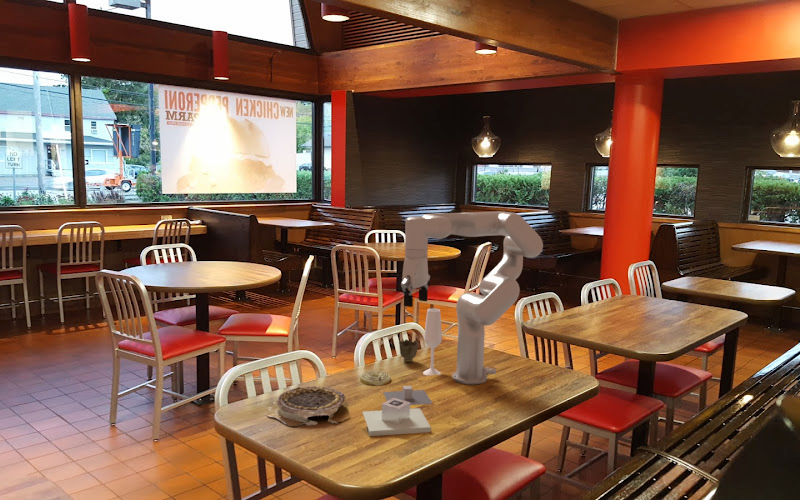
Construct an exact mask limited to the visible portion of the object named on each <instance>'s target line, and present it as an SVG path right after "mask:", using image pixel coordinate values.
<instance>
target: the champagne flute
mask: <svg viewBox="0 0 800 500" xmlns="http://www.w3.org/2000/svg"><path fill="white" fill-rule="evenodd" d="M441 317H442V316H441V309H439V308H428V309H427V310H426V318H425V327H424V334H423V341H424V343H425V344H426V345H427V346H428V347H429V348H430V368H428V369H426V370H424V371H423V372H422V374H423V375H425V376H436V375H437V376H440V375H441V372H440V371H439V370H437V369H436V368H434V367H435V366H434V365H435V348H437V347H438V346H440V345H441V343H442V340H443V332H442V318H441Z"/></svg>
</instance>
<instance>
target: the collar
mask: <svg viewBox="0 0 800 500" xmlns="http://www.w3.org/2000/svg"><path fill="white" fill-rule="evenodd" d="M393 402H399V403H400V405H399V406H395V405H392V403H393ZM410 409H411V405H410V402H407V401H403V400H400V399H396V398H392V399H390V400H389V401H387V400H386V401H385V402H383V403H382V404H381V410H382V420H383V421H386V422H390V423H393V424H396V425H400V424H401V423H403V422H405V421H406V420H408V419H410Z"/></svg>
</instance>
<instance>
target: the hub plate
mask: <svg viewBox="0 0 800 500" xmlns="http://www.w3.org/2000/svg"><path fill="white" fill-rule="evenodd" d="M392 405H395V406H399V405H400V403H399V402H393V403H392ZM362 415H363V417H364V420H365V424H366V427H365V428H366V431H367V434H368V436H369V437H379V436H391V435H392V436H394V435H405V434H407V435H408V434H420V433H421V434H422V433H424V434H425V433H431V430H432V427H431V425H430V423H429V422H428V420H427V418H426V416H425V415H424V413H423V411H422V409H421V407H418V408H416V407H415V408H410V419H408V420H406V421H405V422H403V423H401V424H400V425H396V424H393V423H390V422H386V421H383V420H382V409H381V410H370V411H369V410H367V411H362Z"/></svg>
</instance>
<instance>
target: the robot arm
mask: <svg viewBox="0 0 800 500" xmlns="http://www.w3.org/2000/svg"><path fill="white" fill-rule="evenodd" d="M404 225H405V227H404V229H405V231H404V232H405V234H404V235H405V236H404V237H405V239H404V240H405V241H404V244H405V246H404V248H405V249H404V261H403V267H402V278H401V279H402V280H401V283H400V287H401V292H402V295H403V306H404V307H407V308H408V307H409V308H412V307H413V305H414V302H413V301H414V294H413V292H414V290H415V289H418V301H420V302H427V301H428V290H429V285H430V278H431V275H430V274H429V267H428V251H429V250H428V242H429V240H428V239H430V238H431V239H438V240H439V239H441V240H442V239H445V238H447V237H448V236H450V235H455V236H461V237H469V238H470V237H473V238H474V237H486V236H487V237H488V236H490V237H491V236H503V237H504V239H503V243H502V244H503V254H502V258H501V260H500V261H499V262H498V263H497V265H496V266H495V267H494V268H493V269H492V270H491V271H489V273H488V274H487V275H485V277H483V278H482V280H481V281H480V283H479V286H478V289H479V292H480V293H481V294H482V295H481V294H480V293H479V294H478V293H476V292H464V293H462V294H461V295H460V296H459V298H458V299H457V302H456V316H457V326H458V327H457V353H456V355H457V356H456V371H454V372H453V373H452V376H451V377H452V379H453V380H454V381H455V382H457V383H459V384H463V385H481V384H484V383H486V382H487V381H488V375H496V374H497V369H496V368H491V367H490V366H487V367H485V366H484V360H485V359H484V357H485V356H484V355H485V353H484V352H485V335H486V331H485V326H486V327H487V326H491V325H493V324H495V323H496V322H497V321H498V320H499V319H500V318H501V317H502V316H503V315H504V314H505V313H507V311H508V310H509V309H511V307H512V306H513V305H514V304H515V303H516V301H517V300H518V298H519V296H520V293H521V292H520V291H521V289H520V284H519V283H518V281H517V279H518V278H519V277H520V275H521V274H522V272H523V271H522V270H523V266H524V264H523V263H524V257H525V258H532V259H533V258H536V257H539V256H540V254H541V253H542V252H543V247H544V243H543V242H544V241H543V239H542V238H541V236H540V235H539V234H538V233H537V231H535V229H534V228H533V227H532V226H531V225H530V224H529V223H528V222H527V221H526V220H525V219H524V218H523V217H522V216H520V214H518V213H515V212H509V211H499V210H498V211H497V210H496V211H478V212H477V211H475V212H473V211H471V212H470V211H469V212H453V213H452V212H449V213H448V212H447V213H446V212H445V213H444V212H443V213H441V212H440V213H426V214H424V215H422V216H409V217H407V218H406V220H405V224H404Z"/></svg>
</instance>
